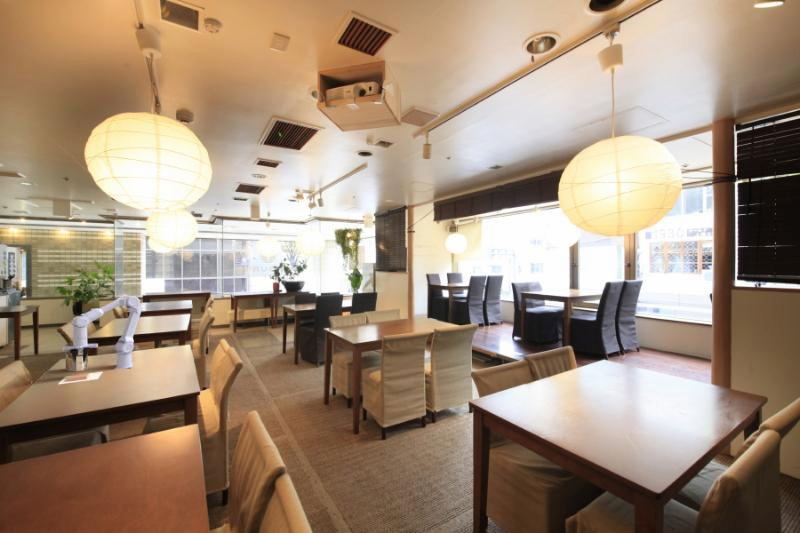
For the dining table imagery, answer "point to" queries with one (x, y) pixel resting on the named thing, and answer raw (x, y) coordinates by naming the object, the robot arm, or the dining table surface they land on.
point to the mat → (91, 377)
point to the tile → (78, 377)
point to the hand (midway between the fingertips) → (80, 361)
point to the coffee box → (71, 361)
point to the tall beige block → (80, 363)
